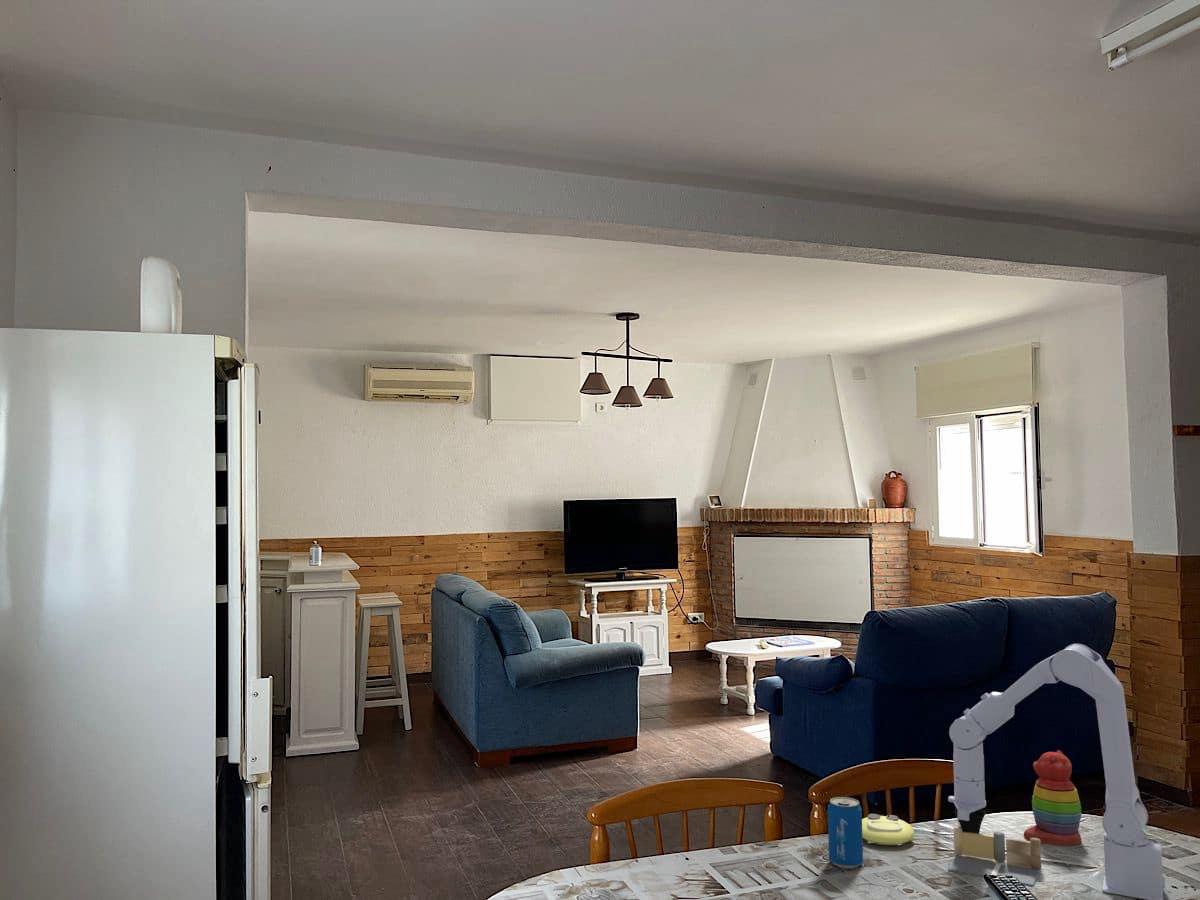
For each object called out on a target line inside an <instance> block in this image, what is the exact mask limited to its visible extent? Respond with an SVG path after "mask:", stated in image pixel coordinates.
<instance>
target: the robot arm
mask: <svg viewBox="0 0 1200 900" xmlns="http://www.w3.org/2000/svg"><path fill="white" fill-rule="evenodd" d="M1060 681H1061V682H1063V683H1065V684H1068V685H1071V686H1073V687H1076V688H1079V689H1081V691H1083V692H1085V693H1086V694H1087V695H1089V696H1090V697H1092V699H1094V700H1095V707H1096V713H1097V715H1096V716H1097V722H1098V729H1099V730H1098V731H1099V739H1100V740H1099V741H1100V747H1101V756H1102V762H1103V763H1102V765H1103V770H1104V779H1105V798H1104V799H1105V801H1104V802H1105V812H1104V814H1103V817H1102V819H1101V820H1102V821H1101V824H1102V827H1103V830H1104V832H1103V846H1104V847H1103V849H1104V875H1103V881H1102V885H1101V886H1102V887H1101V891H1102V892H1103V893H1108V894H1113V895H1119V896H1125V897H1130V898H1137V899H1143V900H1164V889H1165V888H1166V880H1165V879H1166V878H1165V877H1164V876H1163V856H1162V855H1163V853H1162V845H1161V844H1159V843H1155V842H1151V841H1149V840H1150V838H1149V836H1147V834H1146V832H1145V831H1144V827H1145V826H1146V825H1147V823H1148V820H1149V814H1148V810H1147V809H1146V807H1145V805H1144V804H1143V802H1142V799H1141V795H1140V791H1139V788H1138V786H1137V785H1136V777H1135V771H1134V770H1135V769H1134V761H1133V754H1132V746H1131V739H1130V737H1131V736H1130V729H1129V722H1128V715H1127V714H1128V713H1127V706H1126V699H1125V697H1126V696H1125V690H1124V687H1123V684H1122V682H1121V681H1120V680H1119V679H1118V678H1117V676H1116V675H1115V674H1114V673H1113V672H1112V670H1111V669H1110V668H1109V666H1108V665H1107V664H1106V663H1105V661H1104V659H1103V658H1102V656H1101V654H1099V653H1098V652H1097V651H1094V650H1093V649H1092V648H1090V647H1088V646H1087V645H1084V644H1081V643H1073V644H1070V645H1068V646H1066V647H1065V648H1064V649H1062V650H1059V651H1058V652H1056V653H1055V654H1053V655H1051V656H1049V657H1047V658H1045V659H1044V660H1042V661H1040V662H1038V663H1036V664H1035V665H1034V666H1033V667H1031V668H1030V669H1029V670H1028V671H1027V672H1026V673H1025V674H1023V676H1021V677H1020V678H1019V679H1018V680H1016V681H1015V682H1014V683H1013V684H1012V685H1010V686H1009V687H1008V688H1007V689H1006V690H1004V691H1003V692H999V691H992V692H990V693H988V692H986V693H984V694H982V695H981V696H980V699H981V700H980V701H979V702H978V703H976V704H975V705H974V706H973V707H971V709H970V708H966V709H965V710H964V711H963V714H964V715H963V716H960V717H959V718H956V719H955V720H954V721H953V722H952V723H951V725H950V727H949V731H948V734H949V738H950V740H951V742H952V744H953V753H952V754H953V755H952V756H953V757H952V759H953V786H954V788H953V789H954V790H953V793H954V795H949V796H948V798H947V800H948V802H949V803H953V804H954V806H955V808H954V815H955V817H956V819H957V821H958V823H959V825H960V827H961V828H962V832H970V833H977V834H981V833H980V831H981V826H982V823H983V819H984V817H985V816H986V815H987V812H986V810H985V809H984V808H986V806H987V801H986V792H985V790H986V789H985V788H986V787H985V786H986V784H985V757H984V756H985V755H984V743H983V741H984V740H985V739H986V737H987V735H990V734H993V732H995V731H996V730H997V729H999V728H1000V727H1001V726H1003V724H1005V723H1006V722H1007V721H1009V720H1010V719H1011V718H1013V717H1014V715H1015V708H1016V707H1015V706H1016V705H1017V704H1018V703H1020V702H1021V701H1022V700H1023V699H1025V698H1026V697H1028V696H1029V695H1030V694H1032V693H1033V692H1035V691H1036V690H1038V689H1039V688H1040V687H1042V686H1043V685H1044V684H1057V683H1059V682H1060Z"/></svg>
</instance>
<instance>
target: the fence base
mask: <svg viewBox="0 0 1200 900" xmlns="http://www.w3.org/2000/svg"><path fill="white" fill-rule="evenodd" d="M1041 845H1042V843H1040V839H1038V838H1030V840H1029V841H1028V840H1022V839H1016V838H1010V837H1005V856H1006V858H1007V864H1012V865H1018V866H1024V867H1029V868H1032V869H1035V870H1039V871H1040V870H1041V869H1042V854H1041V853H1042V852H1041V851H1042V850H1041V849H1042V847H1041Z"/></svg>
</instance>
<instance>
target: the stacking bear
mask: <svg viewBox="0 0 1200 900" xmlns="http://www.w3.org/2000/svg"><path fill="white" fill-rule="evenodd" d="M1032 766H1033V769H1034V772H1035V773H1036V775H1037V776H1038V779H1036V781H1035V785H1034V788H1033V795H1032V797H1031V804H1032V806H1031V808H1032V814H1033V818H1034V823H1035V825H1033V826H1031V827H1029V828H1026V829H1025V830H1024V832H1023V837H1024V838H1025V839H1027V841H1028V840H1029V841H1030V838H1038V839H1040V844H1044V845H1045V844H1046V845H1051V846H1053V845H1054V846H1076V845H1078V844H1080V843H1081V842H1082V837H1081V833H1080V831H1079V828H1080V821H1081V819H1082V806H1081V805H1082V804H1081V801H1080V797H1079V793H1078V790H1077V788H1076V787H1075V785H1074V784H1073V782H1072V781H1071V780H1070V778H1071V775H1072V772H1073V771H1072V770H1073V766H1072V763H1071V760H1070V759H1069V758H1068V757H1067V756H1066V755H1064V753H1063V752H1062V751H1061V750H1058V749H1057V751H1048V752H1044V753H1043V754H1041V755H1040V757H1039V758H1038V760H1036V761H1034V762H1033V765H1032Z"/></svg>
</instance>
